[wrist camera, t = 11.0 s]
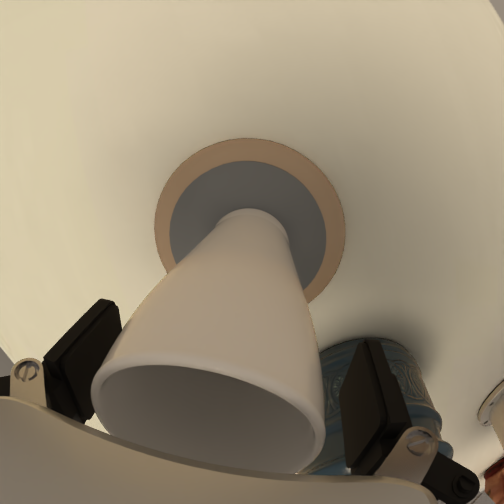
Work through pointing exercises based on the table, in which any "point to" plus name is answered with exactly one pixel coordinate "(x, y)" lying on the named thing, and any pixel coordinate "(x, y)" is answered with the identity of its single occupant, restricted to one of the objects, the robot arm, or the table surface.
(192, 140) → the table surface
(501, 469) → the decorative planter
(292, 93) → the table surface
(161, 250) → the round coaster
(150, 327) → the drinking glass
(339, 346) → the canister
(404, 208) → the table surface
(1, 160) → the table surface
